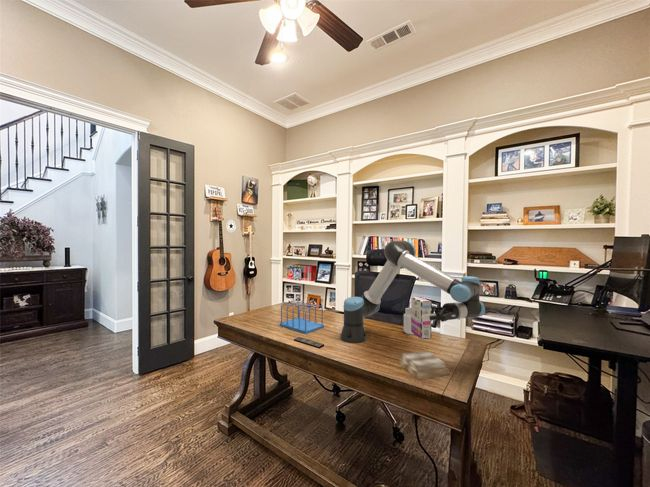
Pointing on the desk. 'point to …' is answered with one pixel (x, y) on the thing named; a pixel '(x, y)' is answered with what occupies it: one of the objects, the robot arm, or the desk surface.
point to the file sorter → (301, 320)
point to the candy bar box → (420, 317)
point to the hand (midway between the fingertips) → (413, 314)
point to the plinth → (423, 374)
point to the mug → (407, 324)
